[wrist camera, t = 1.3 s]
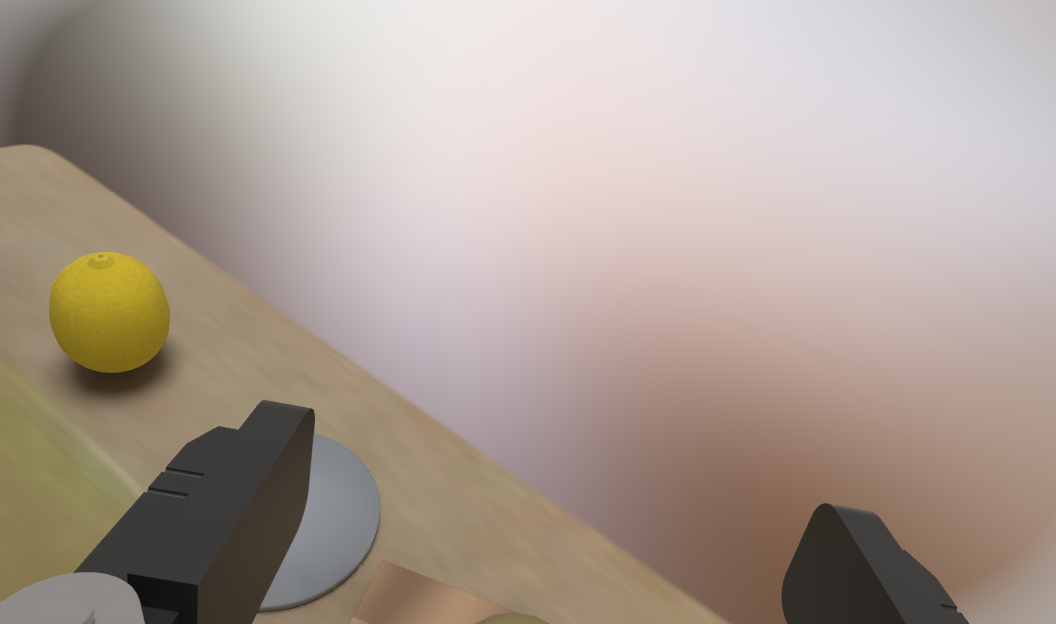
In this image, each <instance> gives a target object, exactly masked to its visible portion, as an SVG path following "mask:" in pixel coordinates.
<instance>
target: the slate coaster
mask: <svg viewBox="0 0 1056 624" xmlns="http://www.w3.org/2000/svg"><path fill="white" fill-rule="evenodd" d="M379 515H380V499H379V494H378V489H377V486H376V483H375V480H374V478H373V476H372V475H371V473H370V471H369V469H368V468H367V467H366V465H365V464H364V463H363V462H362V461H361V459H360V458H359V457H358V456H357V455H356V454H354V453H353V452H352V451H350V450H349V449H348V448H346V447H345V446H343V445H341V444H340V443H338V442H336V441H334V440H331V439H329V438H326V437H323V436H320V435H317V434H314V437H313V448H312V459H311V471H310V482H309V492H308V498H307V503H306V507H305V511H304V515H303V518H302V521H301V524H300V527H299V529H298V532H297V534H296V536H295V538H294V540H293V542H292V544H291V546H290V548H289V550H288V552H287V554H286V556H285V558H284V560H283V562H282V564H281V566H280V568H279V570H278V572H277V574H276V576H275V578H274V580H273V582H272V584H271V586H270V588H269V590H268V592H267V594H266V596H265V598H264V600H263V602H262V604H261V606H260V608H259V610H258V612H265V611H278V610H283V609H289V608H293V607H297V606H300V605H303V604H306V603H309V602H311V601H313V600H315V599H318V598H320V597H322V596H324V595H325V594H327V593H329V592H330V591H332V590H334V589H335V588H336V587H338V586H339V585H340V584H342V583H343V582H344V581H345V580H346V579H348V578H349V577H350V576H351V575H352V574H353V573H354V572H355V571H356V569H357V568H358V567H359V566H360V564H361V563H362V562H363V560H364V559H365V557H366V556H367V554H368V552H369V551H370V548H371V546H372V544H373V542H374V539H375V536H376V532H377V528H378V523H379Z"/></svg>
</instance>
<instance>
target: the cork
mask: <svg viewBox="0 0 1056 624" xmlns="http://www.w3.org/2000/svg"><path fill="white" fill-rule="evenodd" d="M476 624H549V623H547V622H545V621H543V620H541V619H539V618H537V617H534V616H529V615H524V614H519V613H507V614H499V615H492V616H490V617H488V618H486V619H484V620H482V621H480V622H478V623H476Z"/></svg>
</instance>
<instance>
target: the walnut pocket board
mask: <svg viewBox="0 0 1056 624" xmlns="http://www.w3.org/2000/svg"><path fill="white" fill-rule="evenodd" d="M507 613H516V612H514V611H511V610H509V609H506V608H504V607H501V606H499V605H496V604H494V603H491V602H489V601H486V600H484V599H481V598H478V597H476V596H473V595H471V594H468V593H466V592H463V591H461V590H458V589H456V588H453V587H451V586H448V585H446V584H443V583H441V582H438V581H435V580H433V579H430V578H428V577H425V576H423V575H420V574H418V573H415V572H413V571H410V570H408V569H405V568H403V567H400V566H398V565H395V564H392V563H390V562H387V561H385V560H382V561H381V562H380V564H379V566H378V568H377V570H376V572H375V574H374V576H373V578H372V580H371V582H370V584H369V586H368V588H367V590H366V592H365V594H364V596H363V598H362V600H361V602H360V604H359V606H358V608H357V610H356V612H355V614H354V616H353V618H352V620H351V622H350V624H476V623H478V622H480V621H482V620H484V619H486V618H488V617H490V616H492V615H499V614H507Z"/></svg>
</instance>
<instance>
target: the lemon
mask: <svg viewBox="0 0 1056 624" xmlns="http://www.w3.org/2000/svg"><path fill="white" fill-rule="evenodd" d="M49 317H50V323H51V327H52V330H53V332H54V335H55V337H56V339H57V342H58V344H59V345H60V347H61V348H62V349H63V351H64V352H65V353H66V354H67V355H68V356H69V357H70V358H71V359H73V360H74V361H75V362H76V363H78V364H80V365H82V366H84V367H86V368H88V369H91V370H95V371H98V372H106V373H118V372H125V371H129V370H132V369H135V368H137V367H139V366H142V365H143V364H145V363H146V362H148V361H149V360H151V359H152V358H153V357H154V356H155V355H156V354H157V353H158V352H159V350H160V349H161V347H162V346H163V344H164V342H165V340H166V338H167V335H168V330H169V321H170V311H169V305H168V302H167V299H166V296H165V293H164V290H163V288H162V286H161V284H160V282H159V280H158V279H157V277H156V276H155V275H154V274H153V273H152V271H151V270H150V269H149V268H148V267H147V266H146V265H144V264H143V263H141V262H140V261H138V260H136V259H134V258H132V257H129V256H127V255H124V254H119V253H114V252H101V253H93V254H89V255H86V256H83V257H80V258H79V259H77V260H75V261H73V262H72V263H70V264H69V265H68V266H67V267H65V268H64V269H63V270H62V271H61V272H60V273H59V275H58V276H57V278H56V280H55V282H54V284H53V286H52V289H51V294H50V305H49Z"/></svg>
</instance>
